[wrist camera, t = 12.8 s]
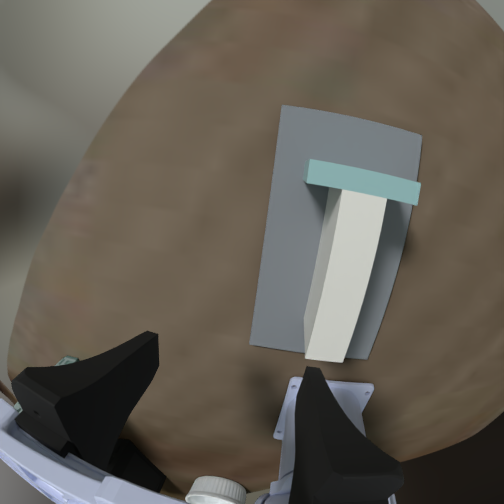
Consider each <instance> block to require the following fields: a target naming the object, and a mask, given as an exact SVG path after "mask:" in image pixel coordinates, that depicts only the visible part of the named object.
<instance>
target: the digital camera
mask: <svg viewBox="0 0 504 504" xmlns="http://www.w3.org/2000/svg"><path fill="white" fill-rule="evenodd" d="M105 472H107V473H109V474H111V475H113V476H115V477H118V478H121V479H124V480H126V481H129V482H131V483H134V484H136V485H139V486H141V487H144V488H146V489H149V490H152V491H154V492H157V493H160V491H161V488H162V486H163V483H164V481H165V479H166V476H165V475H164V474H163V473H162V472H161V471H160V470H159V469H158V468H157V467H156V466H154V465H153V464H152V463H151V462H150V461H149V460H148V459H147V458H146V457H145V456H144V455H143V454H142V453H141V452H140V451H139V450H138V449H137V448H136V446H135V445H134V444H133V443H132V442H131V441H130V440H125V439H118V440H117V442H116V444H115V447H114V449H113V452H112V454H111V457H110V459H109V462H108V465H107V468H106V471H105Z"/></svg>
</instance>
